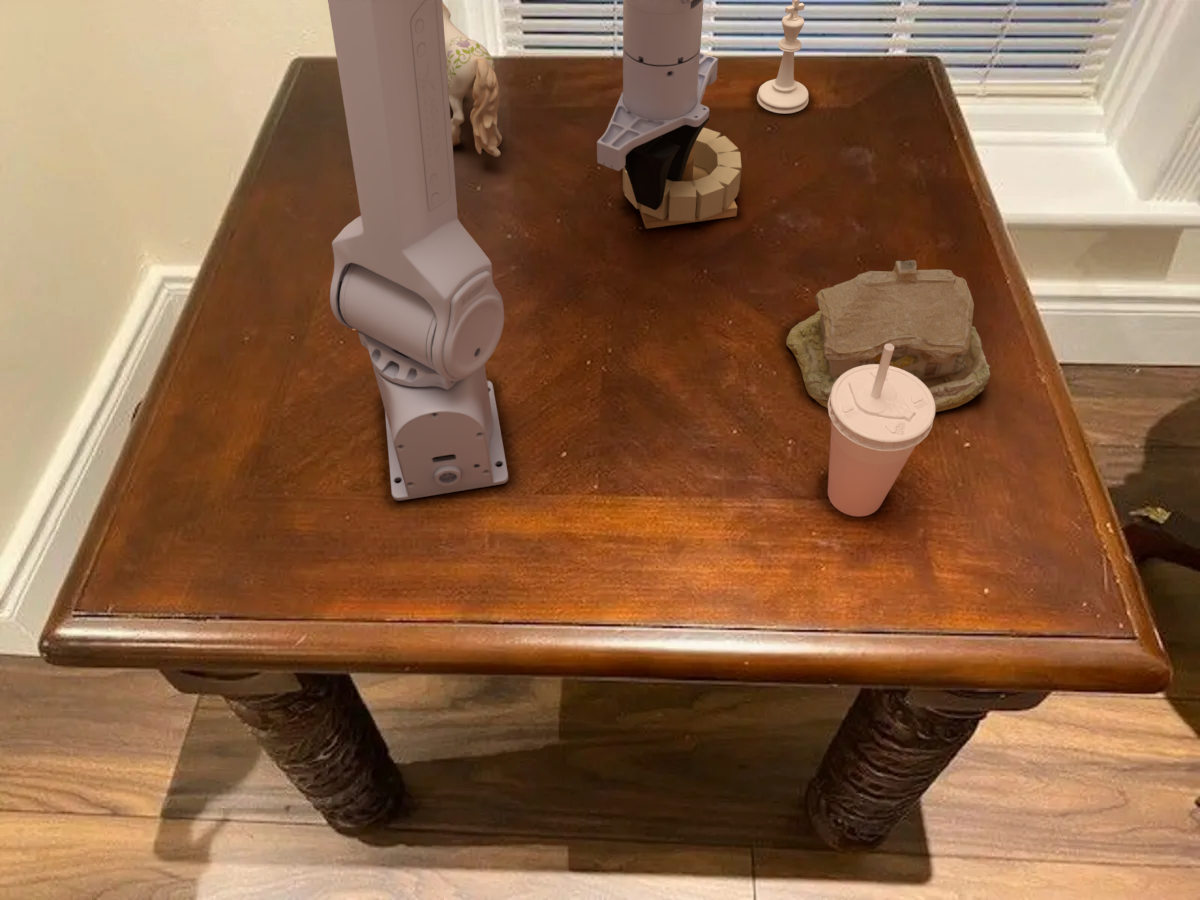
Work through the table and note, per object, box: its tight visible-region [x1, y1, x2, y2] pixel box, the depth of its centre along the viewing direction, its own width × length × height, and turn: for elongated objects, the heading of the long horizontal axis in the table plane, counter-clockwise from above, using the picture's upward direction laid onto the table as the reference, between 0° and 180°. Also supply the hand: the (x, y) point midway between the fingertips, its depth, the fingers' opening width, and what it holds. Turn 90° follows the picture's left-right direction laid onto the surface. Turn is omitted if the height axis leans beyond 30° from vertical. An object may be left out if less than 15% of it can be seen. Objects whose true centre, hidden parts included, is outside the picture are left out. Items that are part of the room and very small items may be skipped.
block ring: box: [622, 126, 742, 221], centre depth 89 cm, size 10×10×3 cm
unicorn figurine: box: [442, 0, 503, 158], centre depth 93 cm, size 7×20×13 cm, turn 48°
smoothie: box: [827, 344, 936, 517], centre depth 65 cm, size 6×6×14 cm
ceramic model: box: [785, 259, 991, 413], centre depth 74 cm, size 14×11×10 cm
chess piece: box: [756, 0, 809, 115], centre depth 95 cm, size 5×5×10 cm
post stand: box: [638, 143, 738, 230], centre depth 88 cm, size 8×8×6 cm
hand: (656, 195), depth 87 cm, fingers closed on block ring, 2 cm apart
